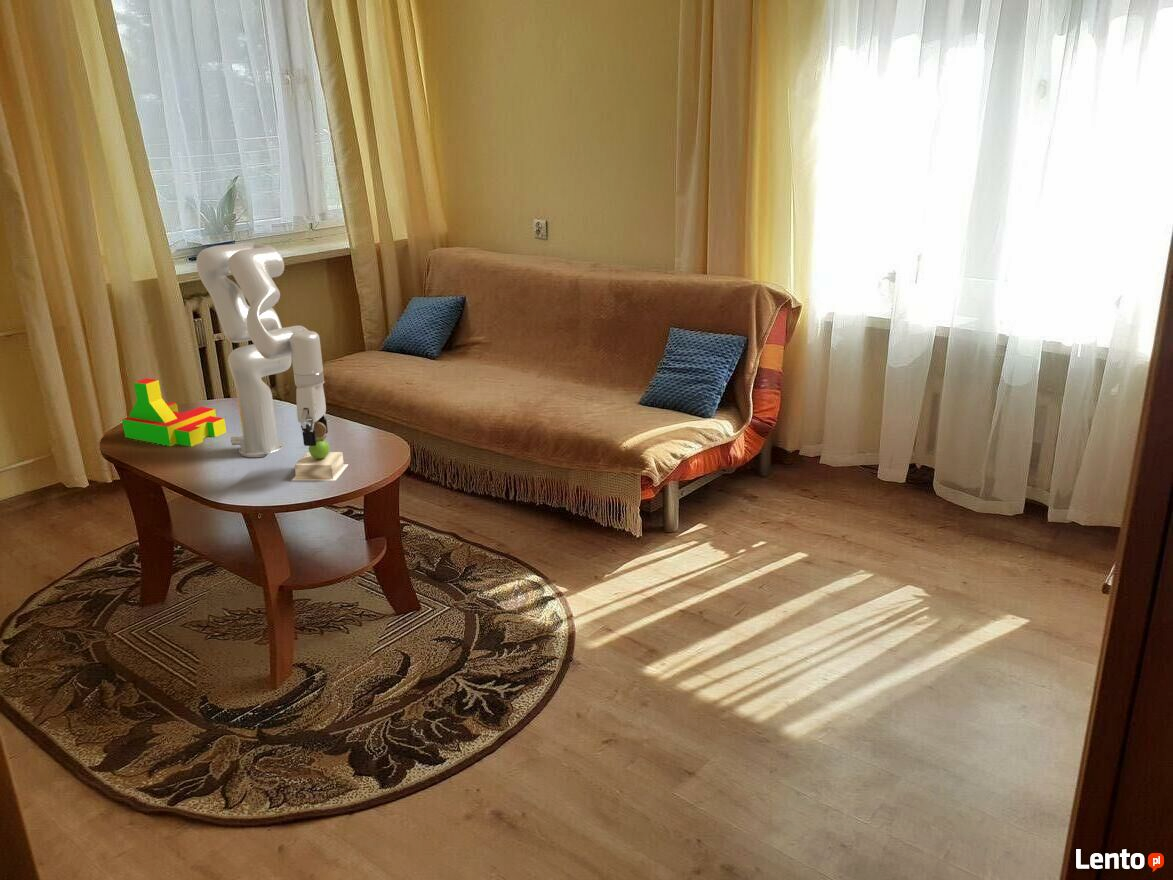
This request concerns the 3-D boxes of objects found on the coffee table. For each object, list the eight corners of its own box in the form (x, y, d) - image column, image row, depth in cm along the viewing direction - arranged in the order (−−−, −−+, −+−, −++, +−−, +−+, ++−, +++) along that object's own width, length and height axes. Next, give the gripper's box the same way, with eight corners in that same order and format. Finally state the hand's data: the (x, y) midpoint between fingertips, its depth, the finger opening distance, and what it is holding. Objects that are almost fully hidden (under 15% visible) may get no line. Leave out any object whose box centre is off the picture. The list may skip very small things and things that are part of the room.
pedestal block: (296, 478, 249) (294, 465, 248) (308, 465, 258) (306, 452, 257) (332, 479, 249) (331, 465, 247) (343, 465, 258) (342, 452, 257)
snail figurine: (308, 455, 255) (303, 413, 251) (332, 454, 255) (327, 412, 251) (304, 462, 249) (299, 420, 245) (328, 461, 250) (323, 419, 246)
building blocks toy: (185, 450, 276) (175, 391, 270) (125, 439, 286) (114, 382, 280) (232, 430, 293) (223, 375, 286) (174, 421, 302) (164, 367, 296)
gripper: (306, 369, 253) (312, 428, 259) (283, 387, 237) (291, 450, 242) (333, 369, 253) (339, 428, 258) (312, 387, 236) (319, 450, 242)
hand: (316, 439), depth 250 cm, fingers open, 9 cm apart
